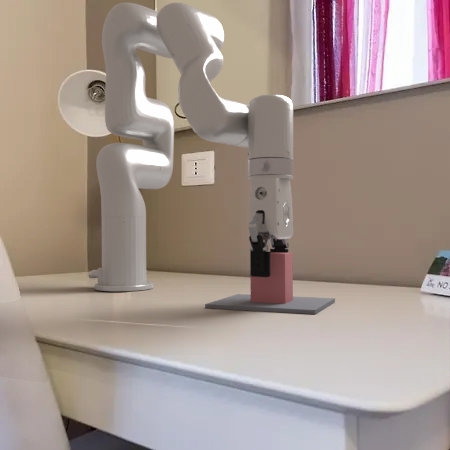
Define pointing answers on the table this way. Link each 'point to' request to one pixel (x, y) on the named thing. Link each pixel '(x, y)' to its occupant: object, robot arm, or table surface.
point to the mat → (273, 304)
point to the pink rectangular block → (275, 281)
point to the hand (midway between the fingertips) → (270, 274)
